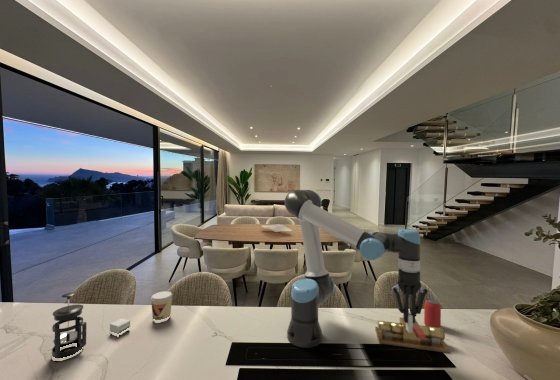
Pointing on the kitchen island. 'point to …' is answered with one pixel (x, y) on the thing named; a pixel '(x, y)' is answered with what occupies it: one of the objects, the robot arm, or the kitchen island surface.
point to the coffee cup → (161, 305)
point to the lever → (418, 331)
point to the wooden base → (411, 336)
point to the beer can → (432, 313)
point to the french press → (68, 329)
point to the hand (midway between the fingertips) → (409, 330)
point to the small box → (119, 325)
